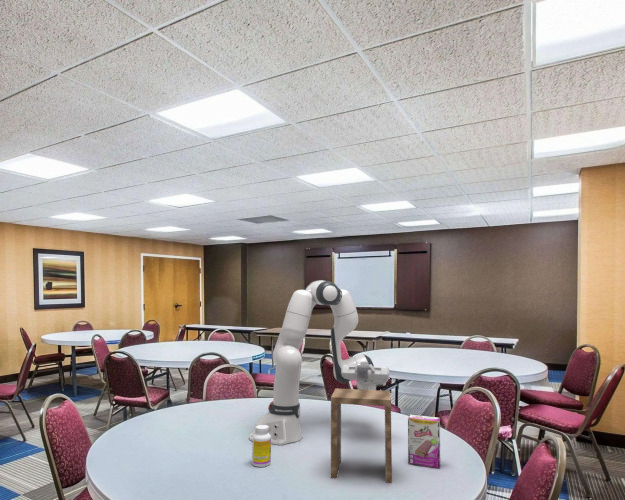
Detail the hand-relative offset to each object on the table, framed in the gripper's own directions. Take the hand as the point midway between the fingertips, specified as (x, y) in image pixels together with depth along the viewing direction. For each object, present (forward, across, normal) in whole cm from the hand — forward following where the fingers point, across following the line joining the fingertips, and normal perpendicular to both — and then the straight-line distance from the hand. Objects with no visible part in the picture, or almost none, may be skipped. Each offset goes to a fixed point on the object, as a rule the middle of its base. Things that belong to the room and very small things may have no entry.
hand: (364, 365), depth 168 cm
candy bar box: (-5, +22, +34) cm, 41 cm away
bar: (+5, 0, +5) cm, 7 cm away
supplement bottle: (+5, -36, +40) cm, 54 cm away
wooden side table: (+5, 0, +40) cm, 40 cm away
